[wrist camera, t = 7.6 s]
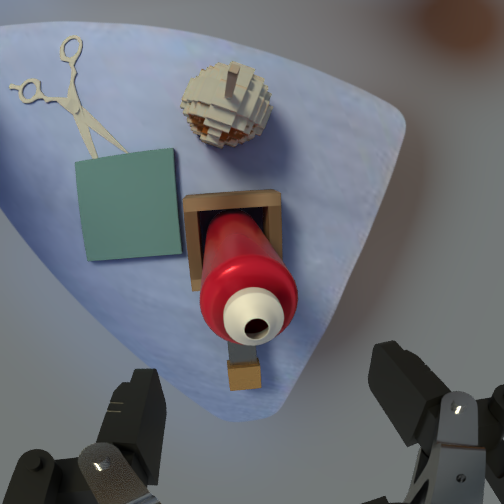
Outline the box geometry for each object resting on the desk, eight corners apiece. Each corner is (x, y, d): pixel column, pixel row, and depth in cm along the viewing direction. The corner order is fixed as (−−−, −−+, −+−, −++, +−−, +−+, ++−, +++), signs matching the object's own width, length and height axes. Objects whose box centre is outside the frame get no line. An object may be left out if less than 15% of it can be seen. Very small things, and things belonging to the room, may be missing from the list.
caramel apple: (176, 133, 30) (144, 108, 15) (204, 67, 28) (198, -1, 14) (247, 158, 31) (273, 153, 17) (273, 92, 30) (318, 42, 15)
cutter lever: (219, 291, 32) (220, 297, 31) (254, 288, 33) (256, 294, 31) (229, 381, 35) (230, 390, 33) (259, 378, 35) (261, 387, 34)
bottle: (239, 198, 32) (274, 249, 13) (267, 239, 34) (332, 335, 15) (196, 228, 33) (172, 317, 13) (226, 268, 34) (241, 391, 15)
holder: (197, 297, 35) (195, 313, 31) (186, 195, 31) (182, 199, 28) (276, 291, 36) (283, 306, 32) (272, 189, 32) (280, 192, 29)
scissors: (69, 24, 24) (158, 139, 29) (72, 26, 24) (159, 139, 30) (8, 86, 24) (85, 204, 30) (11, 87, 25) (88, 203, 31)
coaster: (90, 259, 32) (87, 261, 31) (77, 162, 29) (74, 162, 28) (182, 251, 33) (181, 253, 32) (173, 148, 30) (172, 147, 29)
